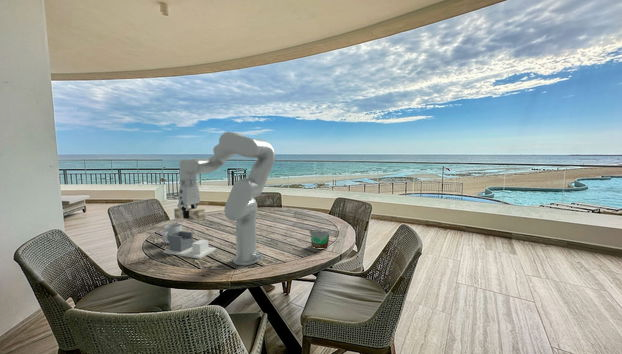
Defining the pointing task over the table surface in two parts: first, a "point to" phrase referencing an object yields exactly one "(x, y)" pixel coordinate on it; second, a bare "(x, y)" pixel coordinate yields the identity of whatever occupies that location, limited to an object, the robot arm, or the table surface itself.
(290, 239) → the table surface
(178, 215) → the top rail
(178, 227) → the mug
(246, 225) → the robot arm
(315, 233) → the food container
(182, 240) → the cup bracket
